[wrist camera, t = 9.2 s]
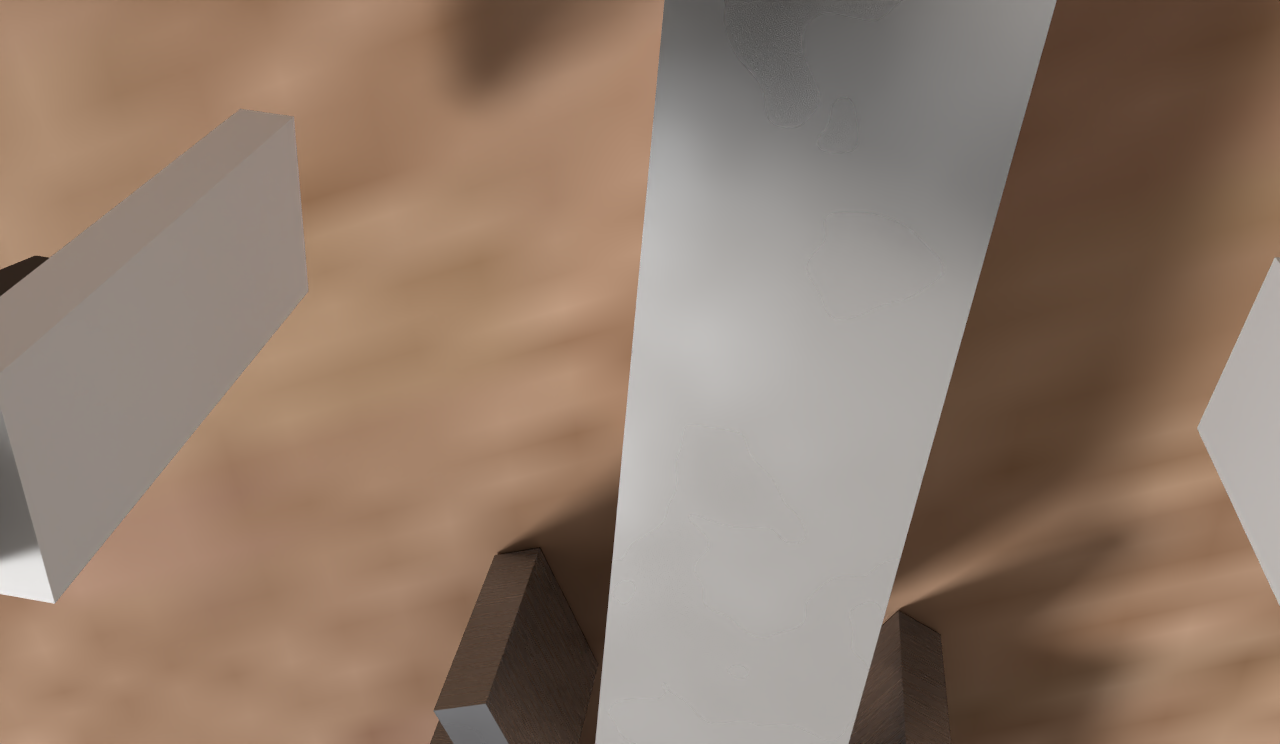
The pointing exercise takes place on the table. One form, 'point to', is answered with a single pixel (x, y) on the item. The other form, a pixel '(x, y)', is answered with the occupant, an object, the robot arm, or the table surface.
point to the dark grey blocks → (565, 667)
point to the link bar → (796, 345)
